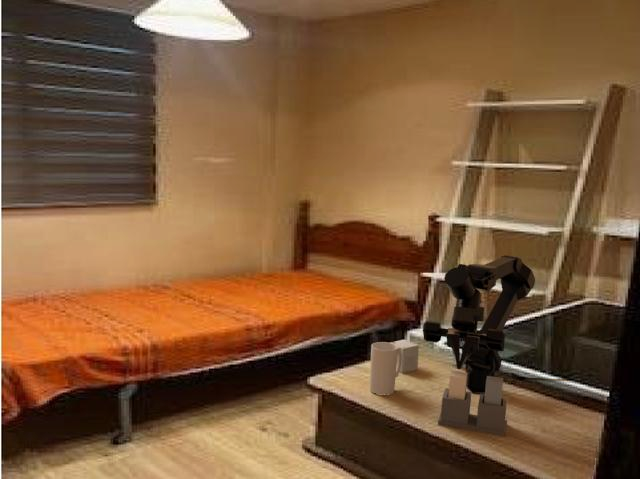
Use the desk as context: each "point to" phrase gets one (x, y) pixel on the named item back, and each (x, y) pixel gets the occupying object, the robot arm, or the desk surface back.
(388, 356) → the mug
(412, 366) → the skincare box
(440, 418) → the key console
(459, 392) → the beige block
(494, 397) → the slate key
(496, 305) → the robot arm
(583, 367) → the desk surface
